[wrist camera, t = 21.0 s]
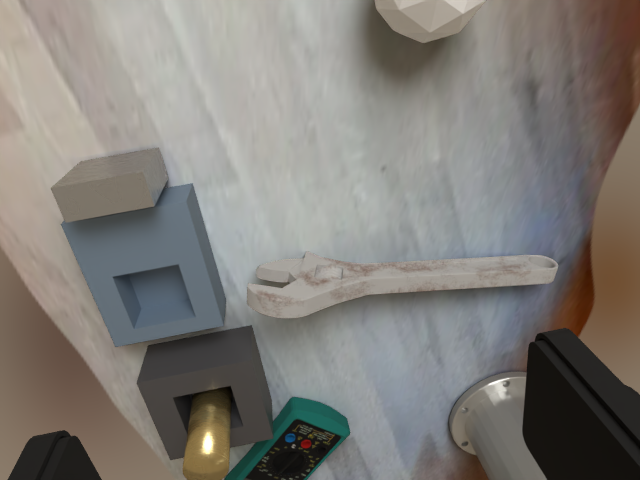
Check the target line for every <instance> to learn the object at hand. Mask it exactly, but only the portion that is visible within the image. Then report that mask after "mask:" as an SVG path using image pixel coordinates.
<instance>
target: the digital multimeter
mask: <svg viewBox="0 0 640 480" xmlns="http://www.w3.org/2000/svg"><path fill="white" fill-rule="evenodd" d="M283 432H284V433H283ZM349 435H350V429H349V425H348V421H347V418H345V417H344V416H343V415H341V414H340V413H339V412H337V411H336V410H334V409H333V408H331V407H329V406H327V405H325V404H322V403H320V402H316V401H312V400H308V399H303V398H298V397H292V398H291V399H290V400H289V401H288V403H287V404H286V405H285V407H284V408H283V410H282V411H281V412H280V414H279V415H278V416H277V418H276V419H275V420H274V422H273V439H269V440H264V441H259V442H257V443H256V444H255V445H254V446H253V447H252V449H251V450H250V451H249V452H248V453H247V455H246V456H245V457H244V458H243V459H242V460H241V461H240V462H239V463H238V464H237V465H236V467H235V468H234V469H233V470H232V471H231V472H230V473H229V474H228V475H227V476H226V477H225V479H224V480H307V479H308V478H309V476H310V475H311V474H312V473H313V472H314V471H315V470H316V469H317V468H318V467H319V466H320V465H321V463H322V462H323V461H324V460H325V459H326V458H327V457H328V456H329V455H330V454H331V453H332V452H333V451H334V450H335V449H336V448H337V447H338V446H339V445H340V444H341V443H342V442H343V441H344V440H345V439H346V438H347V437H348V436H349ZM278 438H279V439H278ZM272 445H273V446H272ZM267 451H268V452H267ZM266 452H267V453H266ZM261 458H262V459H261ZM306 461H307V462H306ZM256 464H257V465H256ZM255 465H256V466H255ZM270 467H271V468H270ZM250 471H251V472H250ZM289 475H290V476H289Z"/></svg>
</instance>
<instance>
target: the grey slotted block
mask: <svg viewBox="0 0 640 480" xmlns="http://www.w3.org/2000/svg"><path fill="white" fill-rule="evenodd" d="M137 385H138V387H139V389H140V392H141V394H142V396H143V399H144V401H145V403H146V405H147V408H148V410H149V412H150V415H151V417H152V419H153V421H154V424H155V426H156V428H157V431H158V433H159V435H160V437H161V440H162V442H163V444H164V446H165V449H166V451H167V453H168V456H169V458H170V460H173V459H178V458H183V457H184V455H185V448H186V441H187V434H188V427H189V419H190V412H191V405H192V398H193V393H198V392H203V391H208V390H213V389H217V388H222V387H227V386H231V388H232V397H231V424H230V447H235V446H240V445H245V444H250V443H254V442H259V441H264V440H269V439H273V419H272V399H271V396H270V392H269V388H268V384H267V381H266V377H265V373H264V369H263V366H262V362H261V358H260V354H259V350H258V347H257V343H256V339H255V335H254V332H253V328H252V325H251V326H246V327H240V328H235V329H230V330H225V331H220V332H215V333H210V334H205V335H200V336H195V337H190V338H185V339H179V340H174V341H169V342H164V343H159V344H154V345H149V346H148V348H147V351H146V355H145V358H144V361H143V364H142V367H141V371H140V374H139V377H138V380H137Z"/></svg>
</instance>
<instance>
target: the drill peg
mask: <svg viewBox="0 0 640 480" xmlns="http://www.w3.org/2000/svg"><path fill="white" fill-rule="evenodd" d="M231 397H232V388H231V386H227V387H222V388H217V389H213V390H208V391H203V392H198V393H193V398H192V405H191V412H190V419H189V427H188V434H187V441H186V448H185V455H184V463H183V474H184V476H185V477H186V478H187V479H188V480H221V479H223V478H224V477H225V476H226V475H227V473H228V470H229V451H230V424H231Z"/></svg>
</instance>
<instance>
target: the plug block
mask: <svg viewBox="0 0 640 480" xmlns="http://www.w3.org/2000/svg"><path fill="white" fill-rule="evenodd" d="M167 180H168V174H167V171H166V168H165V165H164V162H163V158H162V155H161V152H160V149H159V148H153V149H147V150H142V151H136V152H130V153H125V154H119V155H113V156H108V157H102V158H96V159H91V160H85V161H81V162H79V163H78V164H77V165H76V166H75V167H74V168H73V169H72V170H70V171H69V172H68V173H67V174H66V175H65V176H64V177H63V178H62V179H60V180H59V181H58V182H57V183H56V184H55V185H54V186H53V187H51V190H52V193H53V195H54V197H55V199H56V202H57V204H58V206H59V209H60V211H61V213H62V215H63V218H64V220H65V222H72V221H77V220H83V219H88V218H94V217H99V216H105V215H110V214H116V213H121V212H127V211H132V210H138V209H143V208H149V207H154V206H155V204H156V202H157V200H158V198H159V196H160V194H161V192H162V190H163V188H164V186H165V184H166V182H167Z"/></svg>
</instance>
